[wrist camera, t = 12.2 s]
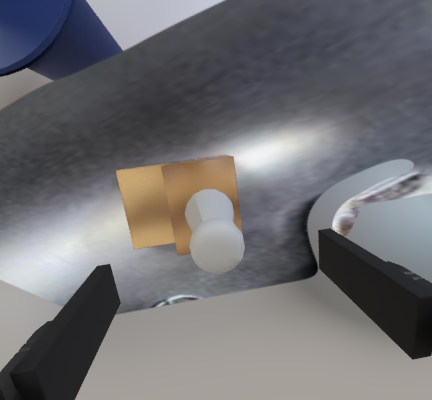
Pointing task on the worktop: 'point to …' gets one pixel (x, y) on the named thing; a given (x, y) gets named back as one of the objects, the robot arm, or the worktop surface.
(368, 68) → the worktop surface
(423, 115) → the worktop surface
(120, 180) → the stepped wooden block
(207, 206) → the salt shaker
